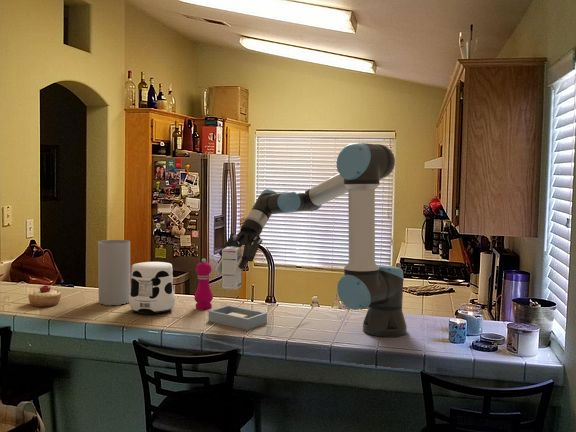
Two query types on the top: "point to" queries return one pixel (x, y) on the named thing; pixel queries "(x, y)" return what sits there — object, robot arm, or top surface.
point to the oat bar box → (239, 315)
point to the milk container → (151, 287)
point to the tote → (237, 317)
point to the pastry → (44, 297)
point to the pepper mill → (203, 286)
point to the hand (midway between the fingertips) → (225, 273)
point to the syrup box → (231, 267)
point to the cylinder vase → (114, 272)
